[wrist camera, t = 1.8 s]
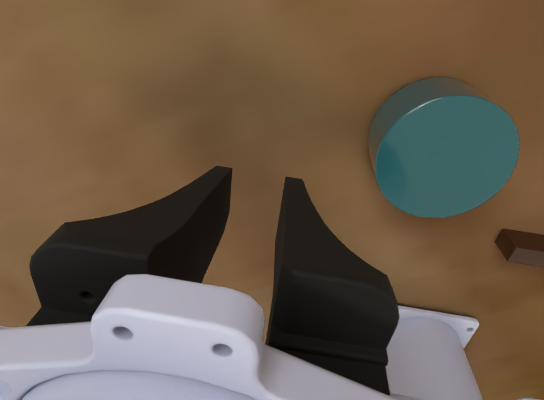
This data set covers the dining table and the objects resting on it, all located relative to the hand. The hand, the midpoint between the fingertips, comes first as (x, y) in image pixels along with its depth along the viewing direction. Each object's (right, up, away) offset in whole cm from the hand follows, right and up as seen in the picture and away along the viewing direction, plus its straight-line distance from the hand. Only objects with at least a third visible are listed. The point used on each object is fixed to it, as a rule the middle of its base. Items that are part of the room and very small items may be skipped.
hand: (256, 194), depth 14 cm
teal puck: (+10, +4, +8) cm, 13 cm away
